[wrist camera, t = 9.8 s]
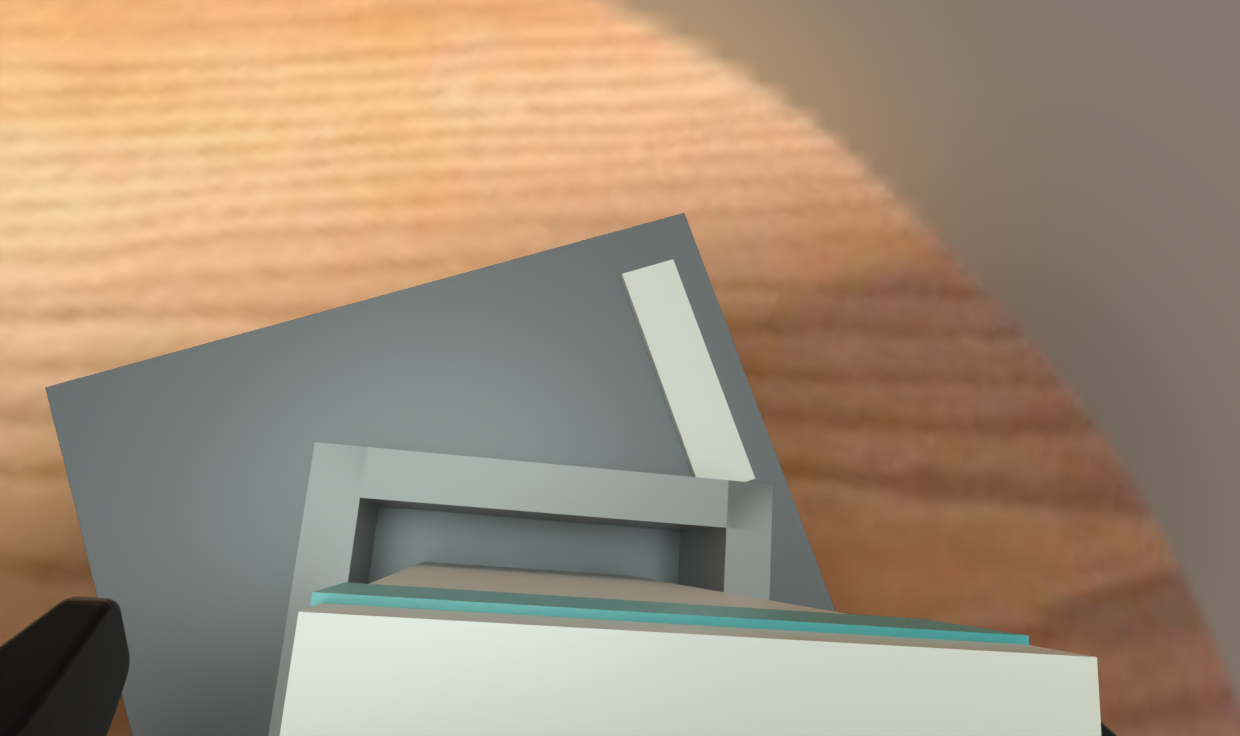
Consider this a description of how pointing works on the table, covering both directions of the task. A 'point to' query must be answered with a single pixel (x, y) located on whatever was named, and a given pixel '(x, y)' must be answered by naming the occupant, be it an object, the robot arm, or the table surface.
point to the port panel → (381, 388)
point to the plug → (655, 664)
